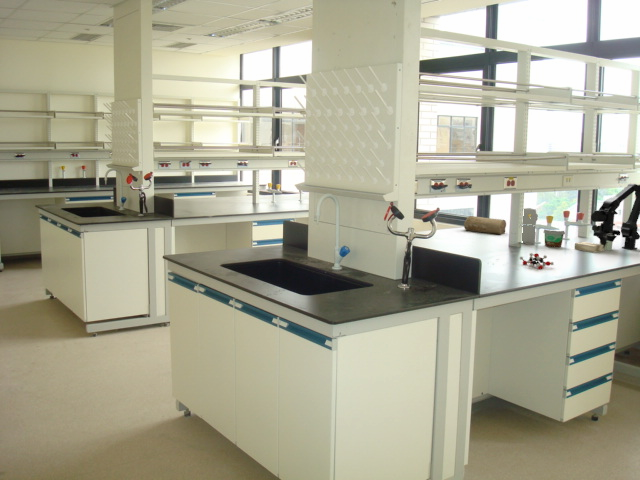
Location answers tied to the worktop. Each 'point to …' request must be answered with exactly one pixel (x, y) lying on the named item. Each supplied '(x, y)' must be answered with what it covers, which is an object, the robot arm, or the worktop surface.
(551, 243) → the food container
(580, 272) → the worktop surface
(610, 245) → the sage cube
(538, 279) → the worktop surface
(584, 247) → the birch block
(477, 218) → the core sample
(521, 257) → the molecular model
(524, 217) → the grey tall slab
